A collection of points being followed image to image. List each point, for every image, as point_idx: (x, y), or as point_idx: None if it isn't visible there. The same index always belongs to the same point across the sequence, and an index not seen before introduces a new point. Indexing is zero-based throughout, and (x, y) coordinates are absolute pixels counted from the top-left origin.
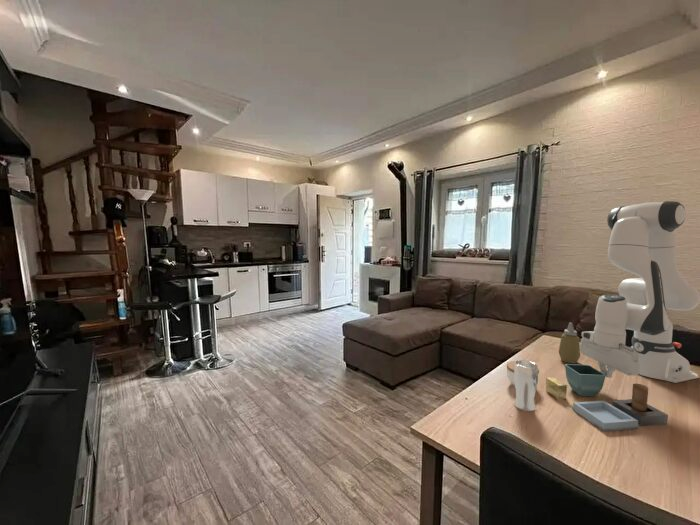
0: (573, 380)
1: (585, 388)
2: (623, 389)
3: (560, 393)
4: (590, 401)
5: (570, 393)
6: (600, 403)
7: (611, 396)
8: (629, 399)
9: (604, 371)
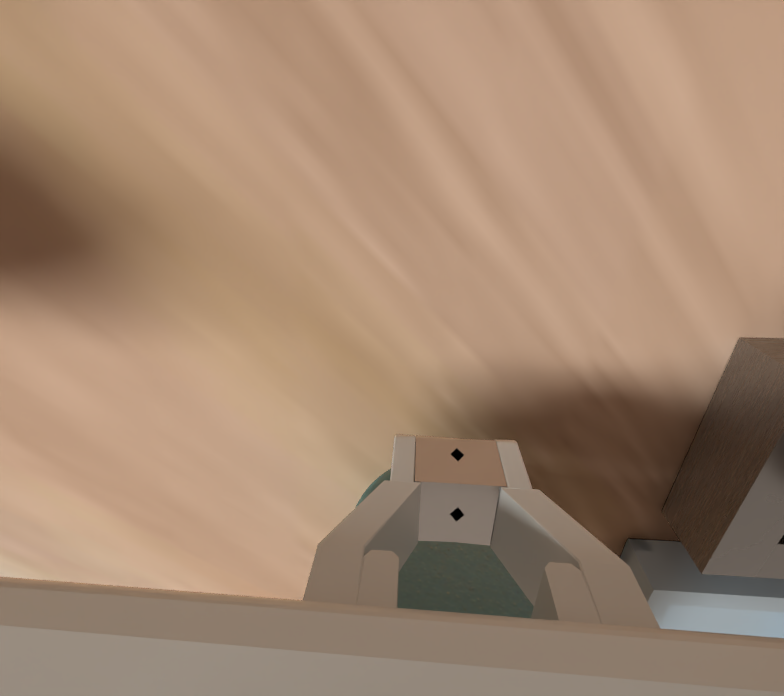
0: None
1: None
2: (439, 107)
3: None
4: None
5: None
6: (658, 613)
7: (529, 372)
8: (770, 458)
9: (458, 540)
